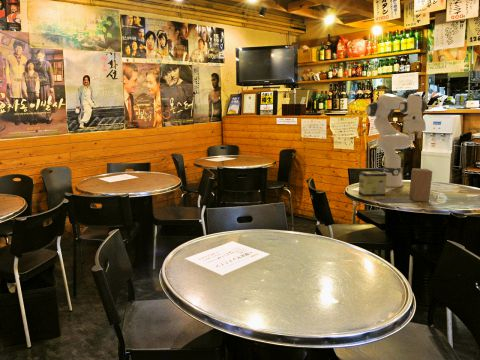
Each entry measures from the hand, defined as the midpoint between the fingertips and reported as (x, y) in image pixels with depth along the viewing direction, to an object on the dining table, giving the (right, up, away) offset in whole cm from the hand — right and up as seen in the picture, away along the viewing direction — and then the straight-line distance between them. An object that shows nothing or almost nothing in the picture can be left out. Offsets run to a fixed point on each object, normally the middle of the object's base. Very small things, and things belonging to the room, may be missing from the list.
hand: (414, 137), depth 293 cm
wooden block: (-3, -42, -14) cm, 45 cm away
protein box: (-29, -39, +2) cm, 49 cm away
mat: (-20, -42, -16) cm, 49 cm away
